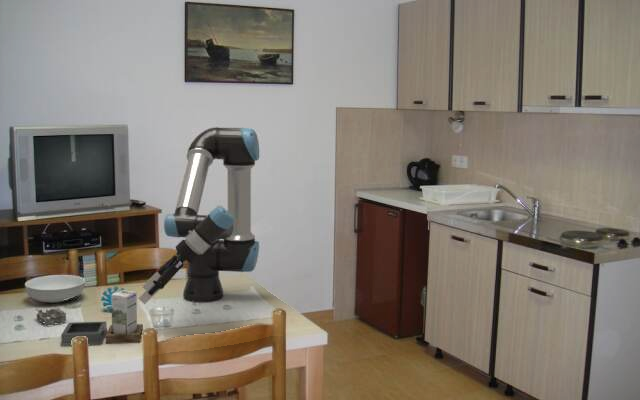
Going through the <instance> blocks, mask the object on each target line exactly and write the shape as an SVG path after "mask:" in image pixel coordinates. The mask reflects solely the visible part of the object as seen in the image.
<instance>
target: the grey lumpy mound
mask: <svg viewBox="0 0 640 400" xmlns="http://www.w3.org/2000/svg"><path fill="white" fill-rule="evenodd" d="M35 311H37V314H36V321H37V320H41V321H40V323H41V322H45V323H44V326H45V325H54V326H55V325H56V324H55V323H63V324H65V323H66V322H67V316H66V315H67V312H65V311H64V310H61V308H59V307H55V308H50V309H46V310H45V311H43V310H42V309H38V308H35ZM47 317H49V318H47ZM65 321H66V322H65Z"/></svg>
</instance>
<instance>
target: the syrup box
mask: <svg viewBox="0 0 640 400" xmlns="http://www.w3.org/2000/svg"><path fill="white" fill-rule="evenodd" d="M137 298H138V297H137V291H132V290H131V291H130V290H125V289H124V290H121V289H120V290H116V292H115V293H113V294H111V305H110V306H111V307H112V309H111V325H112V334H129V333H136V332H137V324H138V310H137V309H138V308H137V307H138V305H137V304H138V303H137V302H138V301H137Z"/></svg>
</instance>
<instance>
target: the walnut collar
mask: <svg viewBox="0 0 640 400" xmlns="http://www.w3.org/2000/svg"><path fill="white" fill-rule="evenodd" d="M107 331H108V332H107V334H106V336H105V344H126V343H127V344H129V343H130V344H131V343H133V344H134V343H140V342H141V341H142V340H141V339H142V337H141V335H142V336H143V333H142V331H143V332H144V325H143V323H137V332H136V333H129V334H112V324H110V325H109V327H108V329H107Z"/></svg>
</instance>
